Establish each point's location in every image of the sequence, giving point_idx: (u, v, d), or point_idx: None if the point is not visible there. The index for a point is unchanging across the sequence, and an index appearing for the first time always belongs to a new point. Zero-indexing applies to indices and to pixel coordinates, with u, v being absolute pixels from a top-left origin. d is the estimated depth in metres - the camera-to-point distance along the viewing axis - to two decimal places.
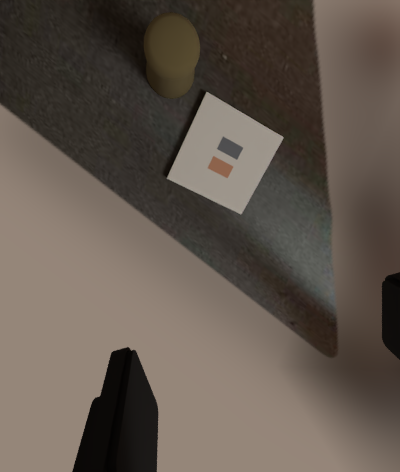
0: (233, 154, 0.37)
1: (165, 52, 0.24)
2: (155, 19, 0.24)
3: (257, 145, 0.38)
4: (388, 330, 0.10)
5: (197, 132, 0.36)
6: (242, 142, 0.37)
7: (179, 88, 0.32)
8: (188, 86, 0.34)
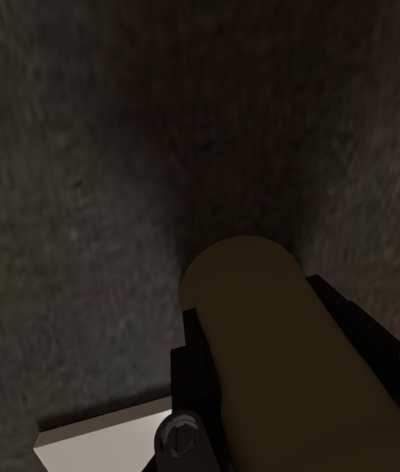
0: None
1: None
2: None
3: None
4: None
5: None
6: None
7: None
8: None
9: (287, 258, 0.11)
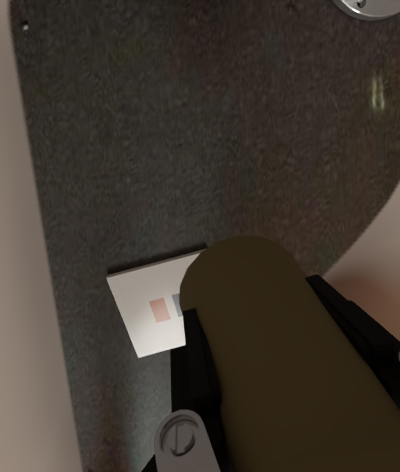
0: (179, 310, 0.34)
1: None
2: None
3: None
4: None
5: (169, 270, 0.32)
6: None
7: None
8: None
9: (287, 258, 0.11)
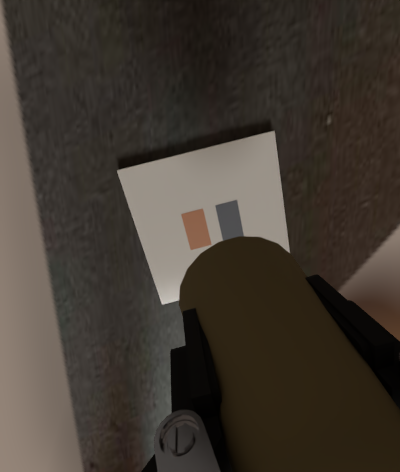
0: (225, 231, 0.23)
1: None
2: None
3: None
4: None
5: (214, 161, 0.21)
6: (249, 229, 0.23)
7: None
8: None
9: (287, 259, 0.11)
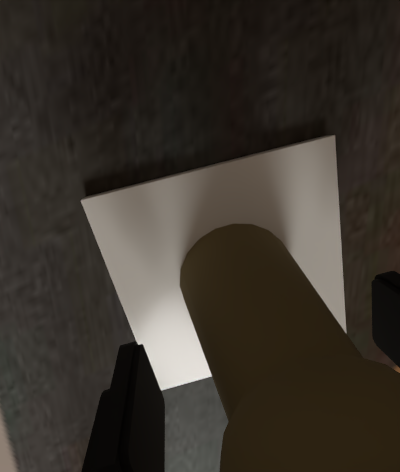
0: None
1: None
2: None
3: None
4: (378, 328, 0.10)
5: (238, 184, 0.13)
6: None
7: None
8: None
9: (276, 243, 0.12)
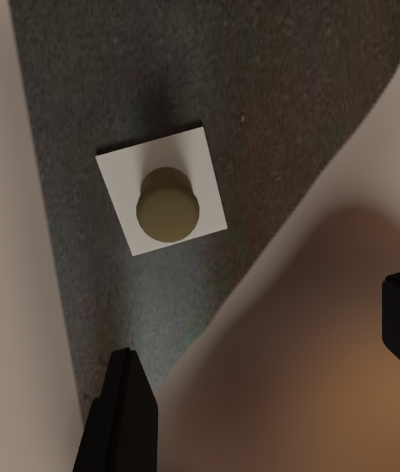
0: None
1: (155, 217, 0.21)
2: (172, 186, 0.21)
3: (201, 213, 0.33)
4: (388, 330, 0.10)
5: (163, 149, 0.30)
6: None
7: None
8: None
9: (178, 172, 0.29)
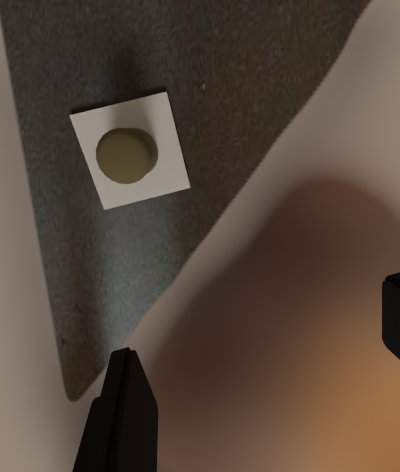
0: None
1: (110, 158, 0.25)
2: (125, 132, 0.25)
3: (166, 172, 0.36)
4: (388, 330, 0.10)
5: (130, 111, 0.33)
6: None
7: None
8: None
9: (143, 132, 0.33)
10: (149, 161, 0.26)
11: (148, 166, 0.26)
